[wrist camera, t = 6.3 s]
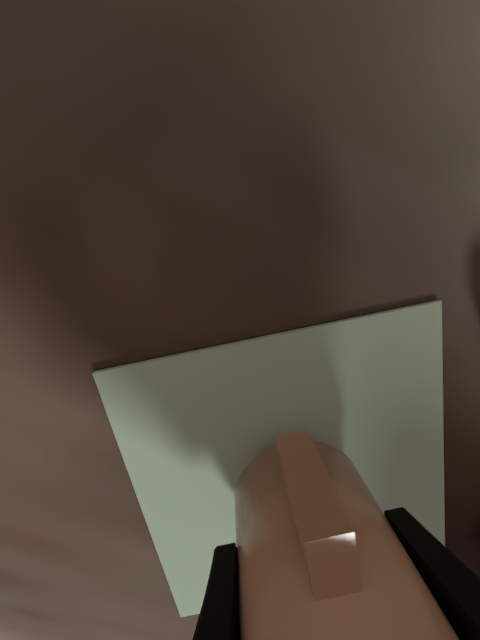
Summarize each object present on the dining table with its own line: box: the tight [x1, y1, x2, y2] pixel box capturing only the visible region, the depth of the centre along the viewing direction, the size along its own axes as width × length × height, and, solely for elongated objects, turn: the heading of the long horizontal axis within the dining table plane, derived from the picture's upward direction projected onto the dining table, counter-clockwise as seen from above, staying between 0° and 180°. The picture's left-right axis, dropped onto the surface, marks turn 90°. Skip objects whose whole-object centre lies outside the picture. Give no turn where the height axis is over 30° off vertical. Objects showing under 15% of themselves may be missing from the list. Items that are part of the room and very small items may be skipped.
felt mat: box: [92, 300, 445, 617], centre depth 12 cm, size 13×13×1 cm
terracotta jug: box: [234, 429, 459, 640], centre depth 8 cm, size 7×5×6 cm
